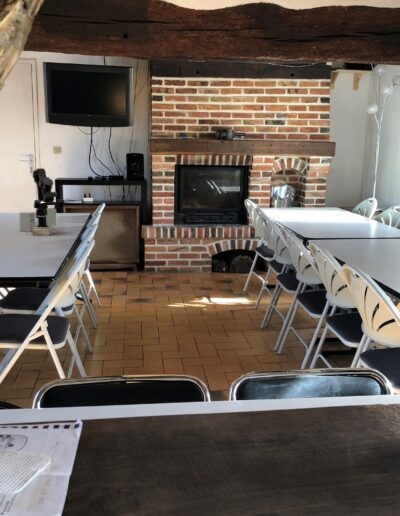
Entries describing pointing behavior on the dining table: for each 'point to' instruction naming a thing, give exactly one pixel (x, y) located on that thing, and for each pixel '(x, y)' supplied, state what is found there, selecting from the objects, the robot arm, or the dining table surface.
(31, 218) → the supplement box
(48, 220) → the sage block
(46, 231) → the birch plinth
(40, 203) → the robot arm
